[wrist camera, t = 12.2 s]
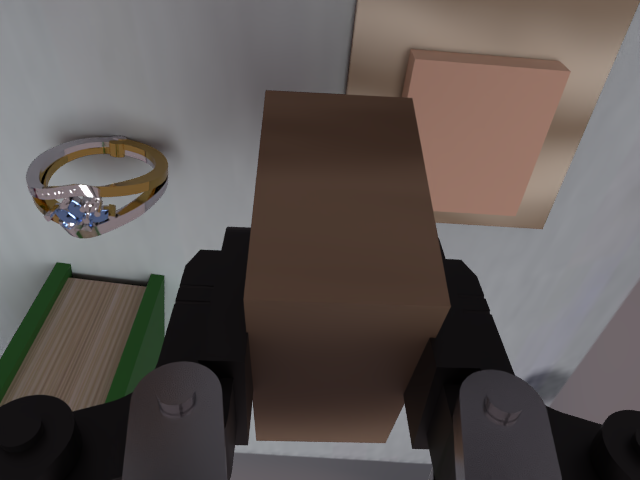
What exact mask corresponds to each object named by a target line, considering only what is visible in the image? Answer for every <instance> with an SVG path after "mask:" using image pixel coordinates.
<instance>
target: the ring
mask: <svg viewBox="0 0 640 480" xmlns="http://www.w3.org/2000/svg"><path fill="white" fill-rule="evenodd" d="M93 154H110V156H113V157H124V156H125V155H126V156H130V157H134V158H137V159H140V160H142V161H144V162H146V163H147V164H149V165H150V166H151V167H152V168H153V170H152V171H151V172H149V173H147V174H145V175H143V176H140V177H137V178H134V179H131V180H127V181H123V182H118V183H114V184H109V185H105V186H96V187H93V186H88V185H84V184H71V185H63V186H48V182H49V180H50V178H51V176H52V175H53V174H54V173H55V171H56V170H58V169H59V168H60V167H61V166H63V165H64V164H66V163H67V162H69V161H71V160H74V159H76V158H79V157H83V156H87V155H93ZM26 181H27V185H28V189H29V192H30V194H31V195H32V197H33V201H34V203H35V205H36V207H37V208H38V209H39V211H40V212H41V213H42V214H44V217H45V219H46V220H47V221H50V220H52V221H54V222H56V223H58V224H60V225H61V226H62V227H63V228H64V229H65V230H66V231H67V232H68V233H69V234H70V235H72V236H74V237H77V238H91V237H95V236H99V235H101V234H104V233H106V232H109V231H111V230H113V229H116V228H118V227H120V226H122V225H124V224H126V223H128V222H130V221H132V220H134V219H136V218H137V217H139V216H140V215H142V214H143V213H145V212H146V211H147V210H148V209H150V208H151V207H152V206H153V205H154V204H155V203H156V202H157V201H158V200H159V199H160V198H161V197H162V195H163V194H164V192H165V191H166V189H167V185H168V162H167V159H166V158H165V156H164V155H163V154H162V153H161V152H159V151H158V150H157V149H155V148H153V147H151V146H149V145H146V144H143V143H140V142H137V141H132V140H128V139H127V138H126V137H124V136H117V135H116V136H112V137H93V138H84V139H78V140H73V141H69V142H66V143H63V144H60V145H57V146H55V147H53V148H50V149H48V150H47V151H45V152H43V153H42V154H40V155H39V156H37V157H36V158H35V159H34V160H33V161H32V163H31V164H30V165H29V167H28V170H27V173H26ZM142 192H144V193H142ZM138 193H142V194H141V195H140V196H139V197H137V198H136V199H135V200H133V201H132V202H130V203H129V204H127V205H125V206H124V207H122V208H120V209H118V210H116V205H111V204H109V206H108V205H103V201H102V200H101V199H102V197H116V196H126V195H132V194H138ZM78 196H83V198H82V199H81V198H79V197H78ZM60 198H64V200H63V201H62V203H59V202H58V201H56V200H55V199H60ZM102 205H103V206H102Z"/></svg>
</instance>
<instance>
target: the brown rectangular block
mask: <svg viewBox="0 0 640 480" xmlns="http://www.w3.org/2000/svg"><path fill="white" fill-rule="evenodd" d="M243 301H244V311H245V322H246V332H248V335H249V347H250V358H251V370H252V381H253V409H254V420H255V431H256V441H307V442H359V443H386V441H387V439H388V436H389V434H390V432H391V430H392V428H393V426H394V424H395V422H396V420H397V418H398V416H399V414H400V411H401V409H402V407H403V405H404V403H405V402H404V397H403V394H404V392H405V390H406V388H407V386H408V383H409V381H410V379H411V377H412V375H413V372H414V370H415V368H416V366H417V364H418V362H419V359H420V357H421V355H422V353H423V351H424V349H425V346H426V344H427V342H428V340H429V338H436V336H437V334H438V332H439V330H440V328H441V326H442V324H443V322H444V320H445V318H446V316H447V314H448V311H449V309H450V307H451V305H450V300H449V294H448V289H447V283H446V278H445V272H444V267H443V262H442V256H441V251H440V245H439V240H438V234H437V229H436V223H435V218H434V213H433V207H432V202H431V196H430V191H429V185H428V180H427V175H426V169H425V164H424V158H423V153H422V147H421V142H420V137H419V131H418V126H417V120H416V115H415V109H414V104H413V98H405V97H386V96H367V95H347V94H328V93H309V92H290V91H271V90H266V92H265V101H264V111H263V120H262V129H261V139H260V148H259V158H258V167H257V177H256V186H255V196H254V205H253V214H252V224H251V233H250V243H249V252H248V262H247V271H246V280H245V290H244V299H243Z"/></svg>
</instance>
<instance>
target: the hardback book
mask: <svg viewBox="0 0 640 480" xmlns="http://www.w3.org/2000/svg"><path fill="white" fill-rule="evenodd" d="M163 342H164V276H163V275H155V274H151V276H150V279H149V281H148V284H147V287H144V286H135V285H127V284H119V283H110V282H102V281H93V280H85V279H77V278H73V277H72V270H71V264H65V263H56V265H55V267H54V268H53V270H52V272H51V273H50V275H49V277H48V279H47V280H46V282H45V284H44V285H43V287H42V289H41V290H40V292H39V294H38V296H37V297H36V299H35V301H34V302H33V304H32V306H31V308H30V309H29V311H28V313H27V314H26V316H25V318H24V319H23V321H22V323H21V325H20V326H19V328H18V330H17V331H16V333H15V335H14V336H13V338H12V340H11V342H10V343H9V345H8V347H7V348H6V350H5V352H4V354H3V355H2V357H1V359H0V407H1V406H2V405H4V404H6V403H8V402H10V401H13V400H15V399H18V398H21V397H25V396H30V395H49V396H54V397H57V398H59V399H61V400H63V401H64V402H65V403H66V404H67V405H68V406H69V407H70V408H71V410H72V411H76V410H80V409H84V408H88V407H92V406H96V405H100V404H104V403H108V402H111V401H114V400H117V399H120V398H122V397H124V396H126V395H128V394H130V393H132V392H133V391H134V389H135V387H136V386H137V384H138V383H139V382H140V381H141V380H142V378H143V377H145V376H146V375H147V374H148V373H149V372H151V371H153V370H154V369H155V367H156V365H157V362H158V359H159V356H160V352H161V349H162V345H163Z"/></svg>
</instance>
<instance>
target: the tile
mask: <svg viewBox="0 0 640 480" xmlns="http://www.w3.org/2000/svg"><path fill="white" fill-rule="evenodd" d="M570 73H571V71H570V70H569V69H568V68H567V67H566V66H565V65H564V64H562V63H561V62H560V61H552V60H540V59H528V58H515V57H503V56H491V55H478V54H466V53H454V52H441V51H429V50H417V49H410V55H409V60H408V65H407V71H406V76H405V81H404V87H403V92H402V97H405V98H413V104H414V109H415V115H416V120H417V126H418V131H419V137H420V142H421V147H422V153H423V158H424V164H425V169H426V175H427V180H428V185H429V191H430V196H431V202H432V207H433V211H440V212H456V213H472V214H488V215H504V216H516V214H517V212H518V209H519V206H520V204H521V201H522V198H523V196H524V193H525V191H526V188H527V185H528V183H529V180H530V177H531V175H532V172H533V170H534V167H535V164H536V162H537V159H538V156H539V154H540V151H541V149H542V146H543V143H544V141H545V138H546V136H547V133H548V130H549V128H550V125H551V122H552V120H553V117H554V115H555V112H556V109H557V107H558V104H559V101H560V99H561V96H562V94H563V91H564V88H565V86H566V83H567V80H568V78H569V75H570Z"/></svg>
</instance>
